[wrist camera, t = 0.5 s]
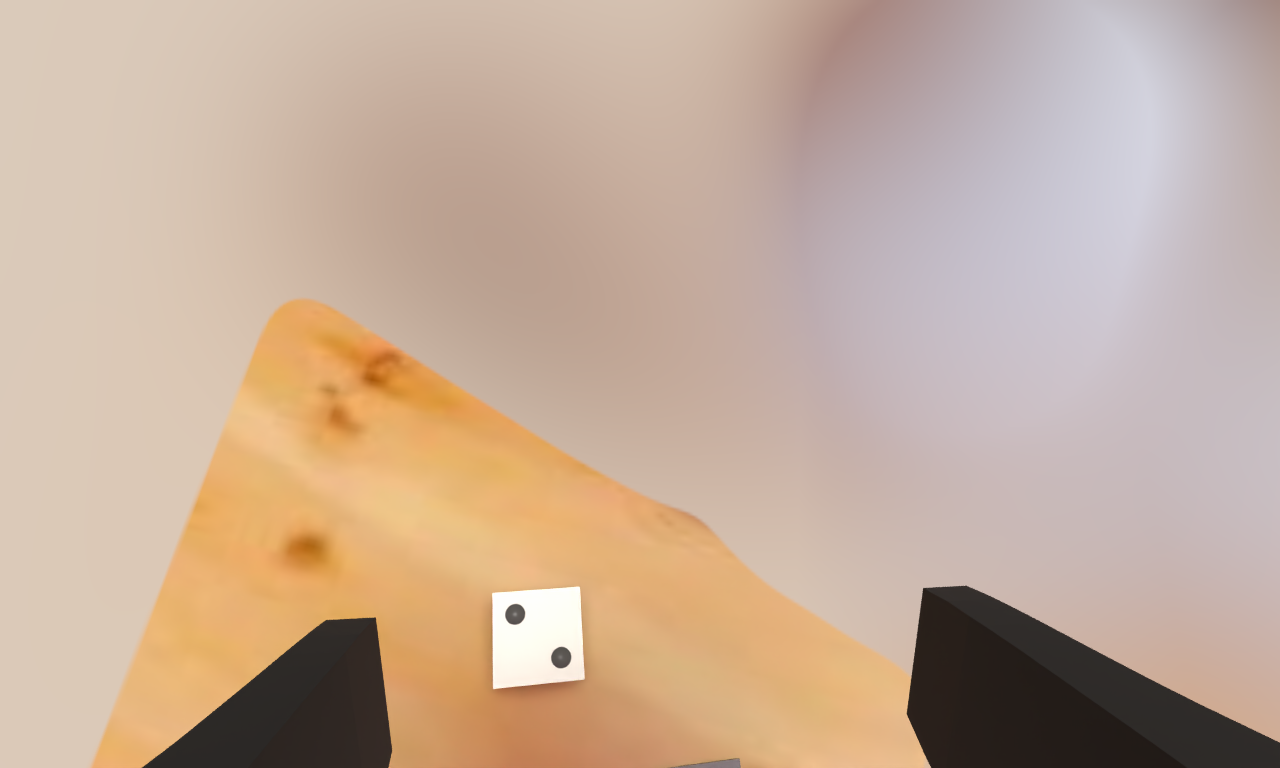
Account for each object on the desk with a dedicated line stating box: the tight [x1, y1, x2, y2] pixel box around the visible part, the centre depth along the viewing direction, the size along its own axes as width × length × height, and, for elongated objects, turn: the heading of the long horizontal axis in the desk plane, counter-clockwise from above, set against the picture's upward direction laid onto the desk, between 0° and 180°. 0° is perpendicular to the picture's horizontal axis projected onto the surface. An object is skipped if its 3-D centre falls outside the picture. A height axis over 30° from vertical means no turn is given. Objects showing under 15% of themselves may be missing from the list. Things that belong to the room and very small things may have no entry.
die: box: [493, 587, 585, 689], centre depth 32 cm, size 4×4×4 cm
